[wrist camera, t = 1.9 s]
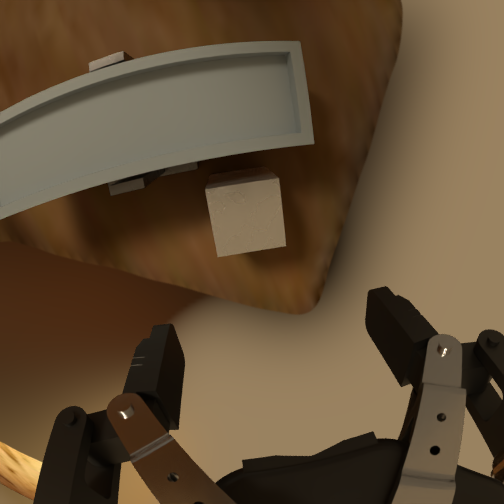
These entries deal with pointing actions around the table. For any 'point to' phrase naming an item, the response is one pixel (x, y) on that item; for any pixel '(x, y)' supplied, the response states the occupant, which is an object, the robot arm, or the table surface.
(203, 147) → the beam
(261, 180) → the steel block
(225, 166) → the table surface
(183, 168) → the pivot stand
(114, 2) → the table surface
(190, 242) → the table surface
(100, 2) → the table surface
